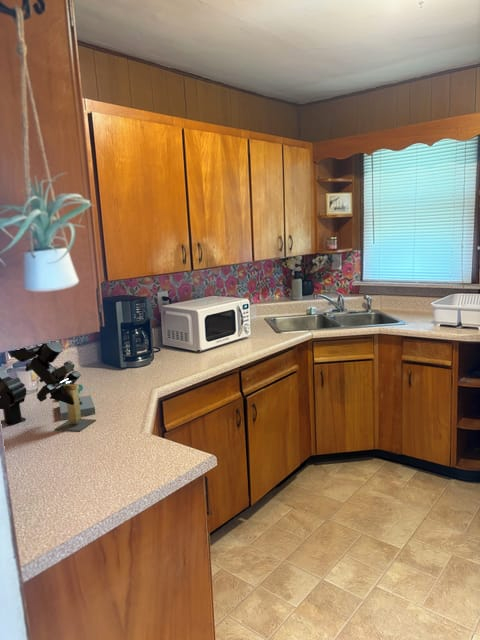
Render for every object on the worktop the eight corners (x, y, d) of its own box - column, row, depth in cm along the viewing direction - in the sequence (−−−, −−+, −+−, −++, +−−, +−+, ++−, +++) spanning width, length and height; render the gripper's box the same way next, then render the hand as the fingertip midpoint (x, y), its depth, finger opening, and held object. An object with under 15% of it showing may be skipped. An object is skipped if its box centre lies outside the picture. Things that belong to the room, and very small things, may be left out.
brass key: (66, 422, 168) (62, 385, 166) (71, 419, 171) (67, 383, 169) (78, 423, 167) (74, 386, 165) (83, 420, 170) (79, 383, 168)
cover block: (61, 419, 176) (60, 413, 175) (59, 406, 190) (58, 400, 190) (95, 413, 180) (94, 407, 180) (90, 401, 195) (90, 395, 194)
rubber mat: (54, 430, 166) (54, 429, 166) (71, 419, 175) (71, 418, 175) (79, 431, 163) (79, 430, 163) (95, 420, 173) (95, 419, 173)
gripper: (40, 362, 157) (73, 396, 156) (73, 349, 175) (103, 379, 174) (22, 385, 161) (54, 418, 160) (57, 369, 178) (86, 399, 177)
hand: (76, 402), depth 168 cm, fingers closed on brass key, 3 cm apart
